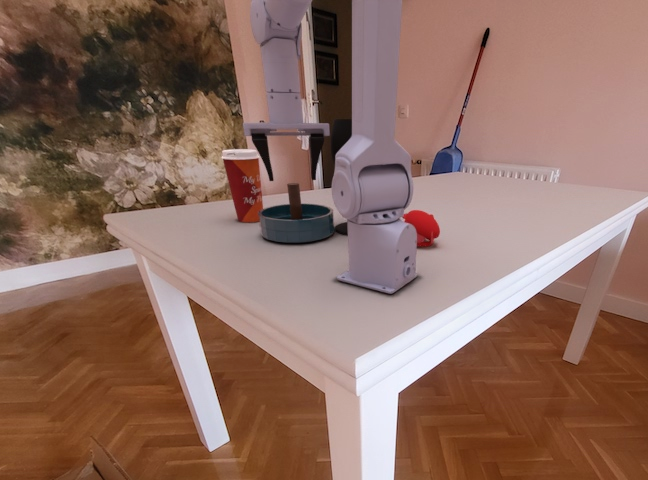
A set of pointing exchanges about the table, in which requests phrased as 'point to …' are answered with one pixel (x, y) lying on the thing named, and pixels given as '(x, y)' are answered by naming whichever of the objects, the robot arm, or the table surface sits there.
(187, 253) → the table surface
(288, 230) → the bowl
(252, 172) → the paper cup
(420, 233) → the cap
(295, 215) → the stirrer
